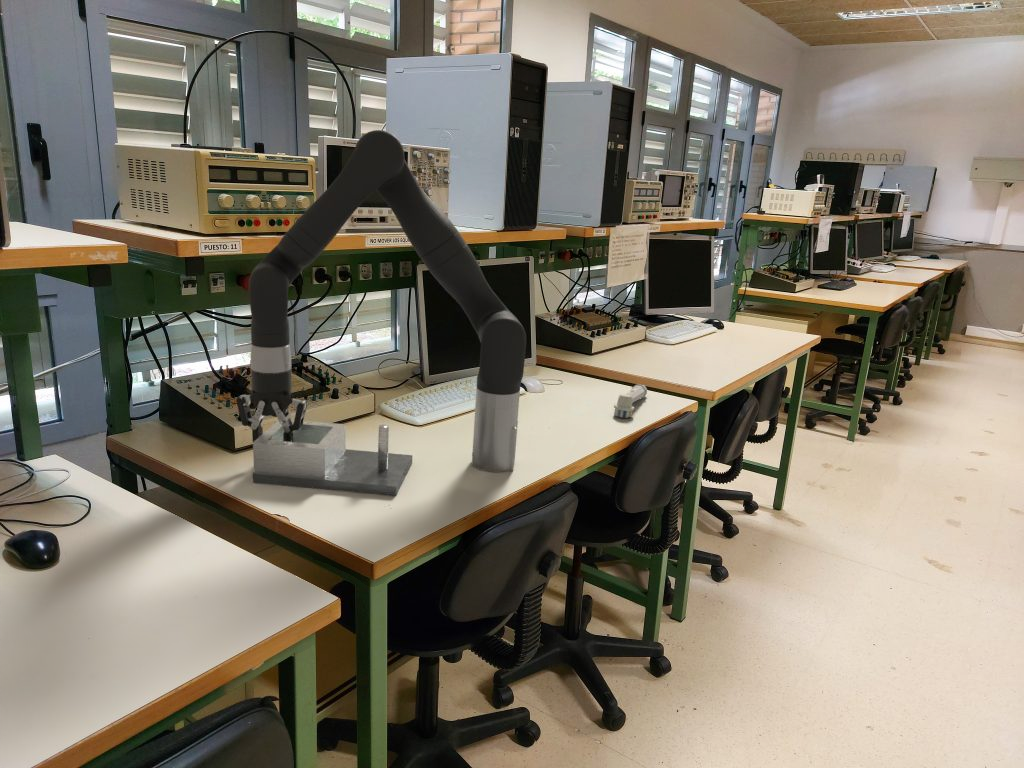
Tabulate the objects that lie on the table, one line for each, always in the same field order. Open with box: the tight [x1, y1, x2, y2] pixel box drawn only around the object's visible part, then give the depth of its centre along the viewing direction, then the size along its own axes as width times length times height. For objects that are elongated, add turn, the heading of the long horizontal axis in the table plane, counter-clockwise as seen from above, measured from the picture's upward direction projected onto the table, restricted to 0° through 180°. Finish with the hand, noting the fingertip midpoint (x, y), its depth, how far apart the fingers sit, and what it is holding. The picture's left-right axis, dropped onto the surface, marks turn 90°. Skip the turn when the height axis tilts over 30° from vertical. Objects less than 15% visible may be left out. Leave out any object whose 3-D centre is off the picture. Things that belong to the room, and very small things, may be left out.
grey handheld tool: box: [613, 383, 648, 419], centre depth 202 cm, size 5×7×25 cm
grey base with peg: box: [252, 424, 413, 497], centre depth 144 cm, size 28×16×11 cm, turn 87°
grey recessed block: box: [252, 419, 347, 478], centre depth 144 cm, size 14×14×6 cm
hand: (273, 446), depth 144 cm, fingers open, 5 cm apart
